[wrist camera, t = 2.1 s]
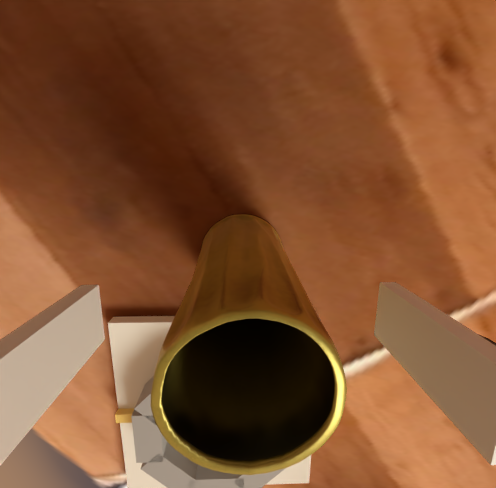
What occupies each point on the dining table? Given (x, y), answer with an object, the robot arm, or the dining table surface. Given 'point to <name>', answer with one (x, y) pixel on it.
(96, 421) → the dining table surface
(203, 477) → the socket
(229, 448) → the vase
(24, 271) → the dining table surface
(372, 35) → the dining table surface
